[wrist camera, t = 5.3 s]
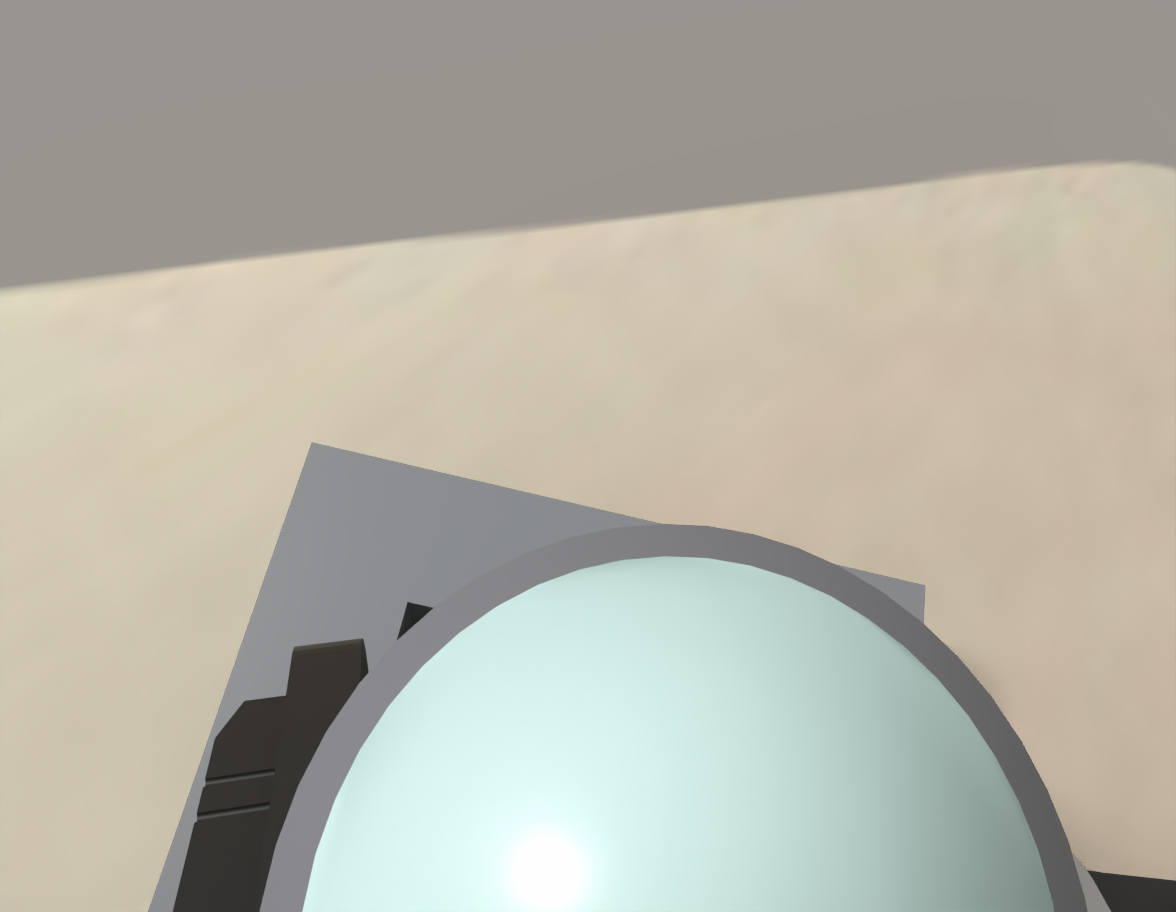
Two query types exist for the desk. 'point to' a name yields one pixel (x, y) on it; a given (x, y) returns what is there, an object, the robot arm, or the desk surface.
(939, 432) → the desk surface
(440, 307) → the desk surface
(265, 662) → the grey hollow square block
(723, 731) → the plug
